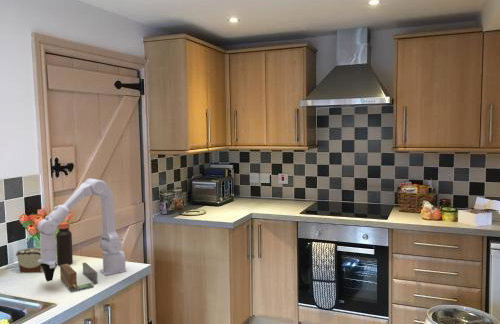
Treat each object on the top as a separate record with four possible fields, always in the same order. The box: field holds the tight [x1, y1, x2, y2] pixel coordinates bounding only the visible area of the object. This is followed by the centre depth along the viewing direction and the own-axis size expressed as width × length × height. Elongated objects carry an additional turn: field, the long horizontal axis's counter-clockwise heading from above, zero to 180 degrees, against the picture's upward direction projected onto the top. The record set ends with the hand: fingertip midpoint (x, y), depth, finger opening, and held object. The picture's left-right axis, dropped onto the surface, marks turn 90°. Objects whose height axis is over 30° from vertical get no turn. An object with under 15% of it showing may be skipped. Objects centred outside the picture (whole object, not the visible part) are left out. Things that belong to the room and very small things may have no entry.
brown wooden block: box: [59, 264, 78, 288], centre depth 179 cm, size 3×18×6 cm, turn 38°
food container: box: [15, 247, 43, 274], centre depth 196 cm, size 12×6×10 cm, turn 92°
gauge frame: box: [68, 262, 98, 294], centre depth 182 cm, size 12×19×5 cm, turn 38°
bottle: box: [55, 221, 74, 267], centre depth 204 cm, size 7×7×20 cm
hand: (49, 280), depth 176 cm, fingers closed
